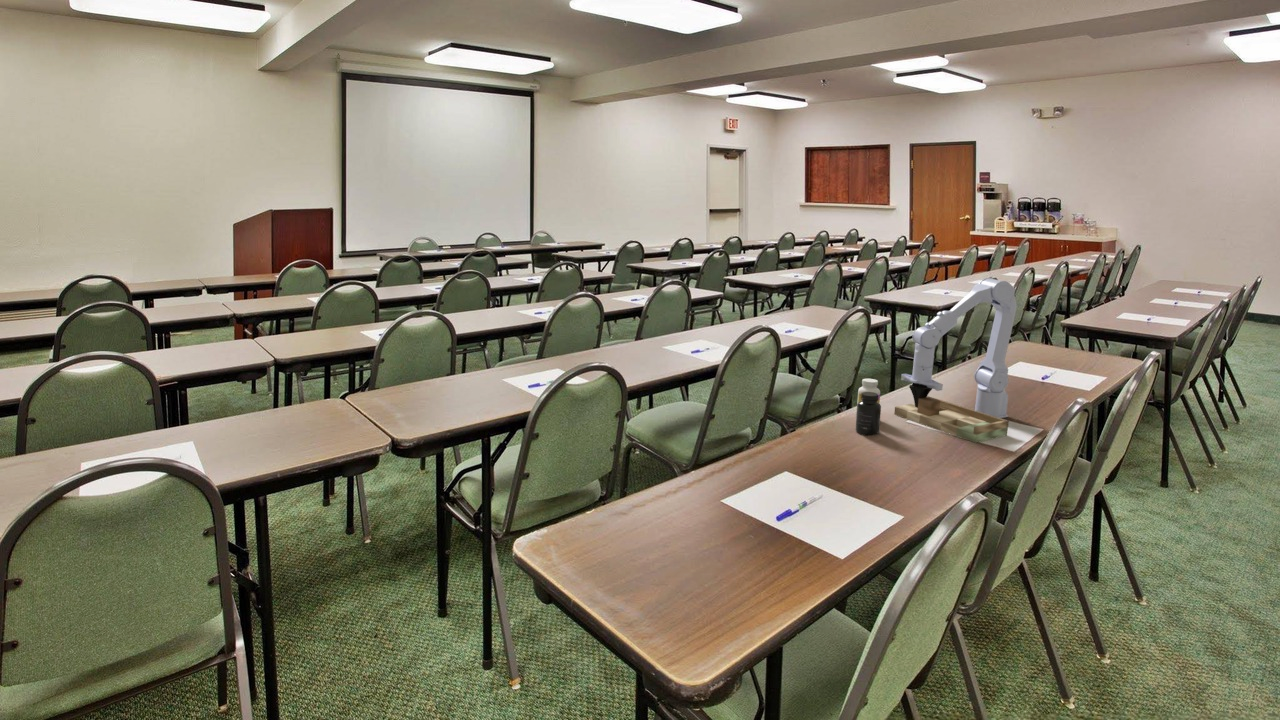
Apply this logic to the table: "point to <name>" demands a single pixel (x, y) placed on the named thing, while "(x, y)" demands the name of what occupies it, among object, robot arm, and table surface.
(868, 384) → the supplement bottle
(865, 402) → the supplement bottle
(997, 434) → the trap board
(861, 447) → the table surface
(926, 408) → the walnut block
